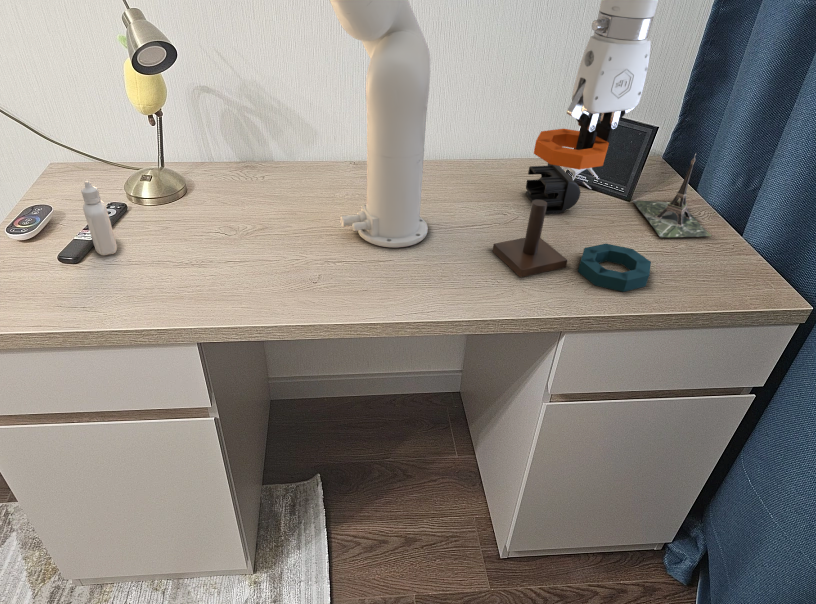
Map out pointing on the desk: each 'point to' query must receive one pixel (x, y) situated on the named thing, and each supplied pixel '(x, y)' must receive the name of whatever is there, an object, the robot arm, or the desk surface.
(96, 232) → the eye dropper bottle
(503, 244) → the peg stand
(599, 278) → the teal ring
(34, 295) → the desk surface
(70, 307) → the desk surface
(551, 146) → the orange ring
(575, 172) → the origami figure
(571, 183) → the end cap
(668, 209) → the eiffel tower figurine
